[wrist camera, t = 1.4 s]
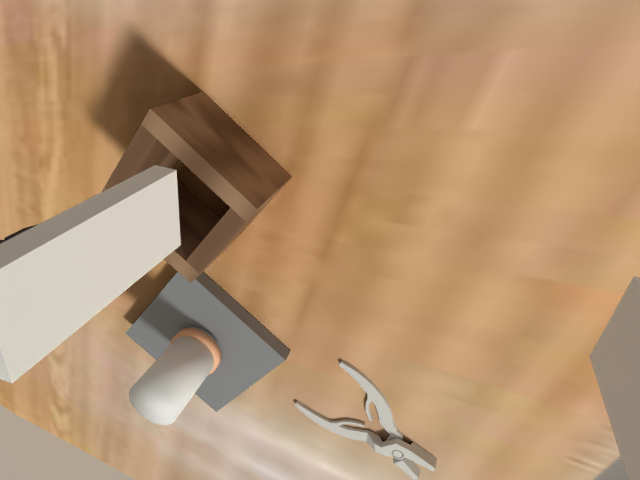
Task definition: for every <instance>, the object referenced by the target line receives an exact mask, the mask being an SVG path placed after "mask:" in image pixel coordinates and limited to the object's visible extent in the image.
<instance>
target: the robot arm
mask: <svg viewBox="0 0 640 480" xmlns="http://www.w3.org/2000/svg"><path fill="white" fill-rule="evenodd" d="M180 245H181V239H180V221H179V204H178V186H177V170H175V169H170V168H166V167H162V166H157V165H154V166H152V167H150V168H148V169H147V170H145V171H143V172H141V173H139V174H137V175H135V176H133V177H131V178H129V179H127V180H125V181H123V182H121V183H119V184H117V185H115V186H113V187H111V188H109V189H107V190H105V191H103V192H101V193H99V194H97V195H95V196H93V197H91V198H89V199H87V200H85V201H84V202H82V203H80V204H78V205H76V206H74V207H72V208H70V209H68V210H66V211H64V212H62V213H60V214H58V215H56V216H54V217H52V218H50V219H48V220H46V221H44V222H42V223H40V224H38V225H34V226H31V227H27V228H24V229H22V230H20V231H18V232H16V233H14V234H12V235H10V236H8V237H6V238H5V239H4V240H0V379H2V380H4V381H7V382H9V383H13V382H14V381H16V380H17V379H18V378H19V377H20V376H22V375H23V374H24V373H25V372H27V371H28V370H29V369H30V368H31V367H33V366H34V365H35V364H36V363H37V362H39V361H40V360H41V359H42V358H44V357H45V356H46V355H47V354H48V353H50V352H51V351H52V350H53V349H55V348H56V347H57V346H58V345H59V344H61V343H62V342H63V341H64V340H66V339H67V338H68V337H69V336H70V335H72V334H73V333H74V332H75V331H77V330H78V329H79V328H80V327H81V326H83V325H84V324H85V323H86V322H88V321H89V320H90V319H91V318H92V317H94V316H95V315H96V314H97V313H98V312H100V311H101V310H102V309H103V308H105V307H106V306H107V305H108V304H109V303H111V302H112V301H113V300H114V299H116V298H117V297H118V296H119V295H120V294H122V293H123V292H124V291H125V290H127V289H128V288H129V287H130V286H131V285H133V284H134V283H135V282H136V281H138V280H139V279H140V278H141V277H142V276H144V275H145V274H146V273H147V272H149V271H150V270H151V269H152V268H153V267H155V266H156V265H157V264H158V263H159V262H161V261H162V260H163V259H164V258H166V257H167V256H168V255H169V254H170V253H172V252H173V251H174V250H175V249H177V248H178V247H179V246H180ZM590 359H591V362H592V365H593V368H594V372H595V375H596V378H597V381H598V384H599V388H600V391H601V394H602V397H603V400H604V404H605V407H606V410H607V413H608V416H609V420H610V423H611V426H612V429H613V432H614V436H615V439H616V442H617V445H618V448H619V452H620V455H621V458H622V461H623V464H624V468H625V471H626V474H627V477H628V480H640V278H639V277H635V276H634V277H633V279H632V281H631V283H630V284H629V286H628V288H627V290H626V292H625V293H624V295H623V297H622V299H621V301H620V302H619V304H618V306H617V308H616V310H615V311H614V313H613V315H612V317H611V319H610V320H609V322H608V324H607V326H606V328H605V329H604V331H603V333H602V335H601V337H600V338H599V340H598V342H597V344H596V346H595V347H594V349H593V351H592V353H591V355H590Z"/></svg>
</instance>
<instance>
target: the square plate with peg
mask: <svg viewBox="0 0 640 480" xmlns="http://www.w3.org/2000/svg"><path fill="white" fill-rule="evenodd" d="M126 334H127V335H128V336H129V337H130V338H132V339H133V340H134V341H135V342H136V343H137V344H139V345H140V346H141V347H142V348H143V349H144V350H145V351H147V352H148V353H149V354H150V355H151V356H152V357H154V358H155V359H156V361H155V362H154V364H153V365H152V366H151V367H150V368H149V369H148V370H147V371H146V372H145V374H144V375H143V376H142V377H141V378H140V379H139V380H138V381H137V382H136V383H135V385H134V386H133V387H132V388H131V389H130V391H129V398H130V401H131V404H132V405H133V407H134V408H135V410H136V411H137V412H138V413H139V414H140V415H141V416H143V417H144V418H145V419H147V420H149V421H151V422H153V423H155V424H159V425H169V424H171V423H173V422H174V421H175V419H176V418H177V417H178V415H179V414H180V413H181V411H182V410H183V409H184V407H185V406H186V404H187V403H188V402H189V400H190V399H191V398H192V396H193V395H194V393H195V394H196V395H198V396H199V397H200V398H201V399H202V400H203V401H204V402H206V403H207V404H208V405H209V406H210V407H211V408H213V409H214V410H215V411H216V412H217V411H218V410H219V409H221V408H222V407H223V406H225V405H226V404H227V403H229V402H230V401H231V400H233V399H234V398H236V397H237V396H238V395H240V394H241V393H242V392H244V391H245V390H246V389H248V388H249V387H250V386H252V385H253V384H254V383H256V382H257V381H258V380H260V379H261V378H262V377H264V376H265V375H266V374H268V373H269V372H270V371H272V370H273V369H274V368H276V367H277V366H278V365H280V364H281V363H282V362H284V361H285V360H286V358H287V356H288V355H289V353H290V351H291V350H289V349H288V348H287V347H286V346H285V345H284V344H283V343H282V342H281V341H280V340H278V339H277V338H276V337H275V336H274V335H273V334H272V333H271V332H270V331H268V330H267V329H266V328H265V327H264V326H263V325H262V324H261V323H260V322H259V321H257V320H256V319H255V318H254V317H253V316H252V315H251V314H250V313H249V312H247V311H246V310H245V309H244V308H243V307H242V306H241V305H240V304H239V303H238V302H236V301H235V300H234V299H233V298H232V297H231V296H230V295H229V294H228V293H226V292H225V291H224V290H223V289H222V288H221V287H220V286H219V285H218V284H217V283H215V282H214V281H213V280H212V279H211V278H210V277H209V276H208V275H207V274H205V273H204V272H202V273H201V274H200V275H199V276H198V277H197V278H196V279H195V280H194V281H193V282H192V283H190V282H189V281H188V280H187V279H185V278H184V277H183V276H182V275H181V274H180V273H179V272H177V273H176V274H175V276H174V277H173V278H172V279H171V280H170V282H169V283H168V284H167V285H166V286H165V287H164V289H163V290H162V291H161V292H160V293H159V295H158V296H157V297H156V298H155V299H154V300H153V302H152V303H151V304H150V305H149V306H148V308H147V309H146V310H145V311H144V312H143V313H142V315H141V316H140V317H139V318H138V319H137V321H136V322H135V323H134V324H133V325H132V326H131V328H130V329H129V330H128V331H127V332H126Z"/></svg>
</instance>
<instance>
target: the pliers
mask: <svg viewBox="0 0 640 480" xmlns="http://www.w3.org/2000/svg"><path fill="white" fill-rule="evenodd" d="M339 366H341V367H342V368H343V369H344V370H345V371H346V372H347V373H348V374H349V375H350V376H351V377H353V378H354V379H355V380H356V381H357V382H358V383H359V385H360V386H361V387H362V388H363V389H364V390H365V392H366V393H367V395H368V398H367V401H366V413H367V416H368V418H369V420H370V421H372V420H373V417H372V415H371V413H370V409H369V404H370V403H371V401H373V403H374V404H375V406H376V409H377V412H378V416H379V420H380V424H381V425H382V426H383V427H384V429H385V430H386V431H387V432H388V433H389V434H390V435H389V437H388V438H387V440H386V441H384V442H382V440H381V438H380V436H379V435H377V434H375V433H373V432H371V431H369V430H364V429H358V428H352V427H347V426H344V425H343V424H354V425H359V426H362V427H364V425H365V423H364V422H361V421H357V420H352V419H342V420H337V421H334V420H330V419H328V418H326V417H324V416H322V415H320V414H318V413H316V412H315V411H313V410H311V409H310V408H308V407H307V406H305V405H303V404H302V403H300V402H299V401H296V402H295V404H294V405H295V406H296V407H297V408H298V409H299V410H300V411H301V412H302V413H304V414H305V415H306V416H307V417H309V418H310V419H311V420H313V421H314V422H316V423H317V424H319V425H320V426H322V427H324V428H326V429H328V430H330V431H332V432H334V433H336V434H339V435H341V436H344V437H346V438H350V439H353V440H359V441H366V442H367V443H368V444H369V445H370V446H371V447H372V448H373V449H374V450H375V451H376V452H377V453H379V454H381V455H383V456H392V457H393V461H394V464H395V465H397V466H398V467H399V468H400V469H401V470H403V471H404V472H405V473H406V474H408V475H409V476H410V477H411V478H412V479H414V480H416V479H419V473H420V469H419V468H418V467H417V465H416V464H415V463H417V464H419V465H421V466H423V467H425V468H427V469H429V470H431V471H434V470H435V469H436V459H437V458H435V457H434V456H433V455H431V454H430V453H428V452H427V451H425V450H424V449H422V448H421V447H420V446H418V445H417V444H415V443H414V442H412V444H411V445H410V444H408V443H406V442H404V441H403V434H402V433H401V432H400V431H399V430H398V429H397V427H396V425H395V422H394V420H393V414H392V410H391V407H390V405H389V403H388V401H387V400H386V398H385V397H384V395H383V394H382V393H381V391H380V390H379V389H378V388H377V387H376V385H375V384H374V383H373V382H372V381H371V380H370V379H369V378H367V377H366V376H365V375H364V374H363V373H361V372H360V371H359V370H358V369H356V368H354V367H353V366H351V365H350V364H348V363H346V362H345V361H343V360H342V361H341V362H340V363H339ZM414 462H415V463H414Z"/></svg>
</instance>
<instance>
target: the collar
mask: <svg viewBox="0 0 640 480" xmlns="http://www.w3.org/2000/svg"><path fill="white" fill-rule="evenodd" d="M179 160H180V161H181V162H182V163H183V164H184V165H186V166H187V167H188V168H189V169H190V170H191V171H192V172H193V173H194V174H195V175H196V176H197V177H198V178H199V179H201V180H202V181H203V182H204V183H205V184H206V185H207V186H208V187H209V188H210V189H211V190H212V191H213V192H214V193H216V194H217V195H218V196H219V197H220V198H221V199H222V200H223V201H224V202H225V203H226V204H227V205H228V206H229V207H231V208H230V209H229V210H228V211H227V212H226V214H225V215H224V216H223V217H222V218H221V219H220V218H219V217H218V216H217V215H216V214H215V213H214V212H212V211H211V210H210V209H209V208H208V207H207V206H206V205H205V204H204V203H203V202H202V201H201V200H199V199H198V198H197V197H196V196H195V195H194V194H193V193H192V192H191V191H190V190H189V189H188V188H187V187H185V186H184V185H183V184H182V183H181V182H180V181H179V180H178V179H177V186H178V204H179V221H180V239H181V245H180V246H179V247H178V248H177V249H175V250H174V251H173V252H172V253H170V254H169V255H168V256H167V257H166V258H164V260H165V261H166V262H168V263H169V264H170V265H171V266H172V267H173V268H174V269H175V270H176V271H178V272H179V273H180V274H181V275H182V276H183V277H184V278H185V279H187V280H188V281H189V282H190V283H192V282H193V281H194V280H195V279H196V278H197V277H198V276H199V275H200V274H201V273H202V272H203V271H204V270H205V269H206V268H207V267H208V266H209V265H210V264H211V263H212V262H213V261H214V260H215V259H216V258H217V257H218V256H219V255H220V254H221V253H223V252H224V251H225V250H226V249H227V248H228V247H229V246H230V245H231V244H232V243H233V241H234V240H235V239H236V238H237V237H238V236H239V235H240V234H241V233H242V232H243V230H244V229H245V228H246V227H247V226H248V225H249V224H250V223H251V222H252V221H253V219H254V218H255V217H256V216H257V215H258V214H259V213H260V212H261V211H262V210H263V208H264V207H265V206H266V205H267V204H268V203H269V202H270V201H271V200H272V198H273V197H274V196H275V195H276V194H277V193H278V192H279V191H280V190H281V189H282V187H283V186H284V185H285V184H286V183H287V182H288V181H289V180H290V179H291V178H292V177H291V176H290V175H289V174H288V173H287V172H286V171H285V170H284V169H283V168H282V167H281V166H280V165H279V164H278V163H277V162H276V161H275V160H274V159H273V158H272V157H271V156H270V155H269V154H268V153H266V152H265V151H264V150H263V149H262V148H261V147H260V146H259V145H258V144H257V143H256V142H255V141H254V140H253V139H252V138H251V137H250V136H249V135H248V134H247V133H246V132H245V131H244V130H243V129H241V128H240V127H239V126H238V125H237V124H236V123H235V122H234V121H233V120H232V119H231V118H230V117H229V116H228V115H227V114H226V113H225V112H224V111H223V110H222V109H221V108H220V107H219V106H218V105H217V104H215V103H214V102H213V101H212V100H211V99H210V98H209V97H208V96H207V95H206V94H205V93H204V92H200V93H197V94H194V95H191V96H188V97H185V98H181V99H178V100H175V101H172V102H169V103H166V104H163V105H159V106H156V107H153V108H150V109H149V111H148V113H147V115H146V116H145V118H144V120H143V122H142V123H141V125H140V127H139V128H138V130H137V132H136V134H135V135H134V137H133V139H132V140H131V142H130V144H129V146H128V147H127V149H126V151H125V153H124V154H123V156H122V158H121V159H120V161H119V163H118V165H117V166H116V168H115V170H114V172H113V173H112V175H111V177H110V178H109V180H108V182H107V184H106V185H105V187H104V189H103V191H105V190H107V189H109V188H111V187H113V186H115V185H117V184H119V183H121V182H123V181H125V180H127V179H129V178H131V177H133V176H135V175H137V174H139V173H141V172H143V171H145V170H147V169H148V168H150V167H152V166H154V165H157V166H162V167H166V168H170V169H173V168H174V167H175V165H176V164H177V162H178V161H179ZM103 191H102V192H103Z"/></svg>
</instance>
